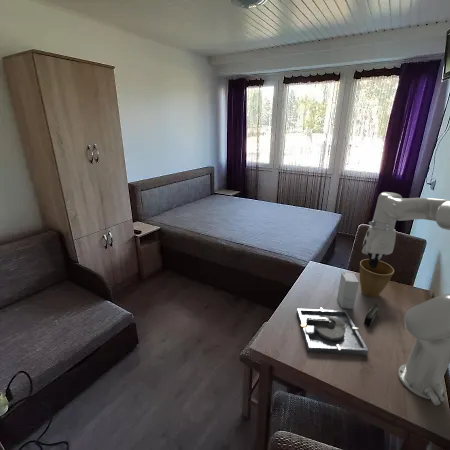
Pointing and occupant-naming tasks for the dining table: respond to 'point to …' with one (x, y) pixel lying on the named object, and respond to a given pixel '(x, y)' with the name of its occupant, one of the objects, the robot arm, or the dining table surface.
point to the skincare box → (347, 290)
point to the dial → (327, 327)
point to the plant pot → (374, 277)
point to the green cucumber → (371, 315)
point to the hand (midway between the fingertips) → (372, 266)
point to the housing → (318, 344)
